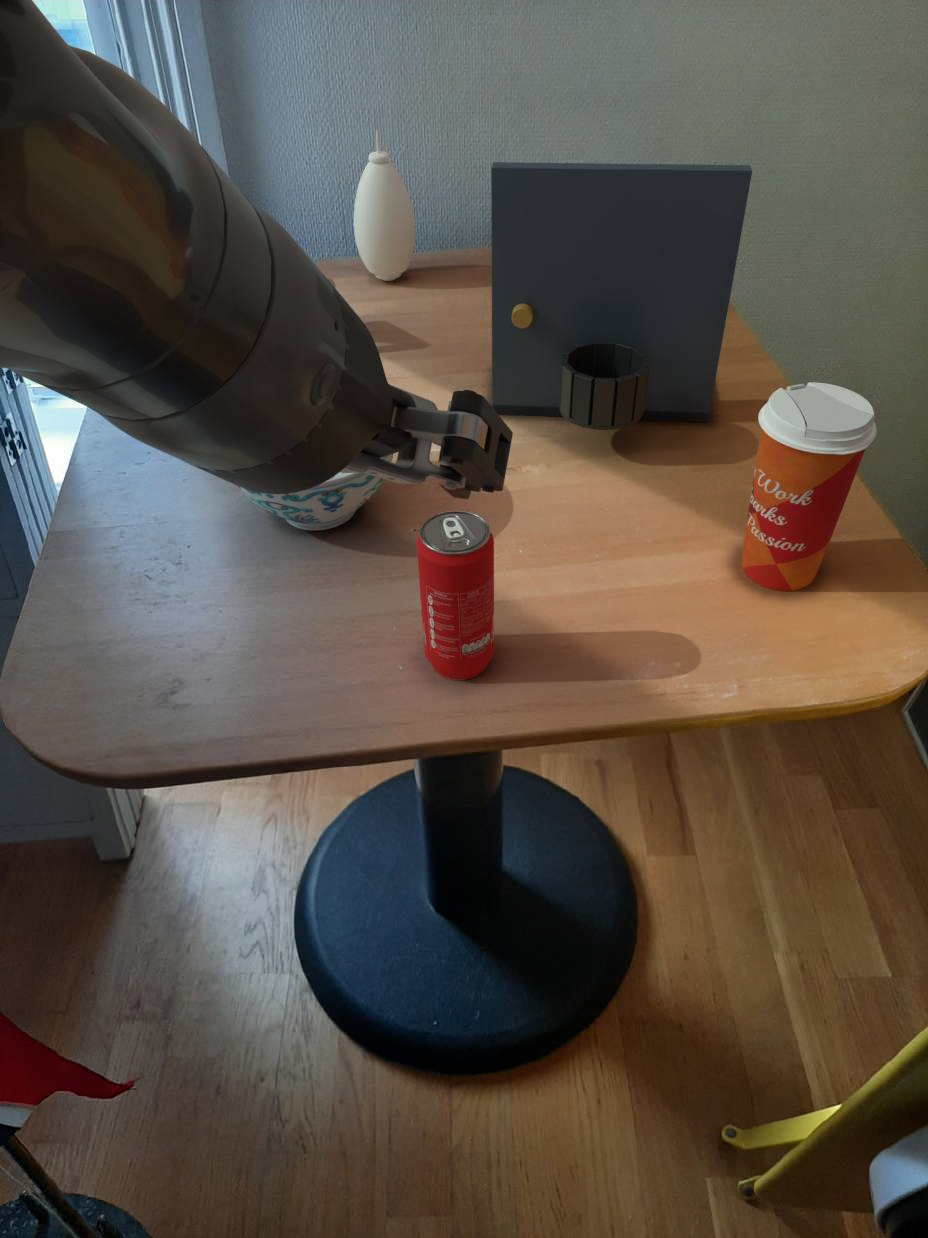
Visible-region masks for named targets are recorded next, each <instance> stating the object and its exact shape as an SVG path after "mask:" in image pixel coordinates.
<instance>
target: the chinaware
mask: <svg viewBox="0 0 928 1238" xmlns="http://www.w3.org/2000/svg"><path fill="white" fill-rule="evenodd" d="M393 457H394V454H391V455H388V456H385V457H382V458H379V459H383V460H386V461H389V462H393ZM384 481H385V479H382V478H379V477H375V476H372V475H369V474H366V473H362V472H359V473H341V472H339V473H338V474H337V475H335V476H334V477H332V478H331V479H329V480H327V481H325V482H324V483H322V484H320V485H317V486H315V487H313V488H310V489H307V490H304V491H300V492H296V493H289V494H264V493H258V492H254V491H250V490H247V489H244V488H242V487H239V486H237V487H238V488H239V490H240V491H241V492H242V493H243V494H244V496H245V497H247V499H249V500H250V501H251V502H252V503H253V504H254V505H256V506H257V507H258V508H260V509H261V510H263V511H265V512H267V513H268V514H270V515H272V516H274V517H276V518H278V519H279V518H280V519H282V520H285V521H286V522H287V523H288V524H289V525H291V526H293V527H295V528H297V529H300V530H306V531H325V530H330V529H334V528H336V527H339V526H341V525H343V524H344V523H346V522H348V521H349V520H350V519H351V518H352V517H353V516H354V515H355V513H356V511H357V510H358V509H359V508H361V507H362V506H364V505H365V504H366V503H367V502H368V501H369V500H370V499H371V498H372V497H373V496H374V495H375V493H377V491H378V490H379V489H380V487H381V485H383V482H384Z"/></svg>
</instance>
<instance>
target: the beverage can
mask: <svg viewBox="0 0 928 1238" xmlns="http://www.w3.org/2000/svg"><path fill="white" fill-rule="evenodd" d="M416 554H417V556H416V557H417V569H418V583H419V584H418V585H419V595H420V596H419V597H420V610H421V623H422V636H423V648H424V649H423V650H424V655H425V658H426V660H427V662H429V663H430V666H431V667H432V669H433V670H434V672H435V673H437V674H438V675H439V676H441V677H443V678H446V679H449V680H453V681H465V680H469V679H470V680H471V679H472V678H476V677H477V676H479V675H481V674H482V673H483V672H484V671H485V670H486V668H487V667H488V664H489V662H490V661H491V660H492V658H493V656H494V652H495V539H494V535H493V533H492V531H491V528H490V525H489V523H488V522H487V521H486V520H485V519H484V518H483V517H482V516H480V515H478V514H476V513H473V512H470V511H465V510H447V511H443V512H439V513H435V514H434V515H432V516H430V517H428V518H427V519H426V520H425V521H424V522H423V523H422V524H421V526H420V528H419V533H418V536H417V539H416Z"/></svg>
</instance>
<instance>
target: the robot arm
mask: <svg viewBox="0 0 928 1238" xmlns="http://www.w3.org/2000/svg"><path fill="white" fill-rule="evenodd" d="M174 114H175V113H173V112H172V111H171V110H170V109H169V108H168V107H167V106H166V104H165V103H163V102H162V101H161V100H160V99H159V98H158V97H157V96H156V95H154V94H153V93H152V92H151V91H150V90H149V89H147V87H145V86H144V85H143V84H142V83H140V82H139V81H138V80H136V78H134V77H132V76H131V75H130V74H128V72H126V71H125V70H123V69H122V68H121V67H118V66H117V65H116V64H113V63H111V62H110V61H108V60H106V59H104V58H103V57H101V56H99V55H97V54H94V53H93V52H91V51H89V50H86V49H82V48H79V47H76V46H72V45H70V44H68V43H67V42H66V40H65V39H64V38H63V37H62V35H61V34H60V33H59V32H58V31H57V29H56V28H55V27H54V26H53V25H52V23H51V22H50V20H49V19H48V18H47V17H46V16H45V15H44V13H43V12H42V11H41V10H40V8H39V7H38V6H37V4H36V3H35V2H34V1H33V0H0V369H6V370H9V371H10V372H12V373H13V374H17V375H19V376H20V377H23V378H25V379H27V380H29V381H31V382H33V383H35V384H38V385H40V386H42V387H44V388H46V389H49V390H50V391H53V392H55V393H57V394H59V395H61V396H63V397H66V398H68V399H70V400H71V401H75V402H76V403H78V404H79V405H83V406H84V407H87V408H88V409H90V410H91V411H94V412H95V413H97V414H98V415H100V416H101V417H102V418H104V420H106V421H107V422H109V423H110V424H111V425H113V426H114V427H115V428H117V429H118V430H120V431H121V432H123V433H124V434H126V435H127V436H130V437H131V438H132V439H134V440H137V441H138V442H140V443H142V444H144V445H146V446H149V447H151V448H153V449H156V450H157V451H160V452H162V453H164V454H166V455H168V456H171V457H173V458H175V459H177V460H180V461H181V462H183V463H186V464H189V465H190V466H192V467H194V468H197V469H199V470H201V471H203V472H206V473H207V474H210V475H212V476H214V477H217V478H219V479H221V480H224V481H225V482H228V483H229V484H232V485H234V486H237V487H238V486H239V487H242V488H244V489H247V490H250V491H254V492H258V493H264V494H289V493H296V492H300V491H304V490H307V489H310V488H313V487H315V486H317V485H320V484H322V483H324V482H325V481H327V480H329V479H331V478H332V477H334V476H335V475H337V474H338V473H339V472H341V473H359V472H362V473H366V474H369V475H372V476H375V477H379V478H382V479H384V481H389V482H391V483H395V484H399V485H413V484H414V485H415V484H418V485H419V484H422V483H424V482H425V481H428V482H430V483H431V482H432V483H434V484H437V485H438V486H439V487H440V488H441V489H443V490H444V491H445V492H446V493H447V494H448V495H450V497H452V498H453V499H463V500H469V499H470V497H471V493H472V492H474V493H475V492H476V493H479V492H481V491H482V492H486V493H491V494H493V493H494V492H502V491H503V489H504V485H505V478H506V474H507V468H508V464H509V463H508V462H509V457H510V451H511V447H512V441H513V435H514V432H513V431H512V430H511V428H510V427H509V426H508V425H507V424H506V422H505V421H504V420H503V418H502V417H501V416H500V414H497V412H496V411H495V410H494V409H493V407H492V404H490V402H489V401H488V399H486V397H485V396H483V395H482V394H479V393H477V392H476V391H475V390H472V389H471V390H470V389H463V390H454V391H453V392H452V395H451V396H452V397H451V400H449V401H448V405H447V410H440V409H438V407H437V405H436V403H434V401H432V400H429V399H428V398H424V397H423V396H419V395H417V394H414V393H412V392H410V391H407V390H404V389H403V388H399V387H397V386H394V385H391V384H390V383H389V382H388V378H387V376H386V373H385V368H384V365H383V362H382V357H381V355H380V353H379V349H378V346H377V343H376V341H375V339H374V338H373V335H372V334H371V332H370V330H369V328H368V327H367V325H366V324H365V323H364V321H363V320H362V318H361V317H360V316H359V315H358V314H357V313H356V311H355V310H354V308H352V306H351V305H350V304H349V303H348V302H347V300H346V299H345V298H344V297H343V296H342V295H341V293H340V292H339V291H338V290H337V288H336V286H335V287H334V286H333V285H332V284H331V283H330V282H329V280H328V279H327V278H326V277H325V276H324V275H325V274H324V273H323V271H322V270H321V269H320V268H319V267H318V265H317V264H316V263H315V262H314V261H313V259H312V258H311V257H310V256H309V254H307V252H306V251H305V250H304V249H303V247H302V246H301V245H300V244H299V243H298V242H297V241H296V240H295V238H294V237H293V236H292V235H291V234H290V233H289V232H288V231H287V230H286V228H285V227H284V226H283V225H282V224H281V223H280V222H279V221H278V220H277V219H275V218H274V217H273V216H271V214H269V213H268V212H267V211H266V210H264V209H263V208H262V207H261V206H259V205H258V204H256V203H255V202H254V201H253V200H251V199H249V198H248V197H247V196H246V195H245V193H243V192H242V191H241V189H240V188H239V187H238V186H237V185H236V184H235V183H234V182H233V180H232V179H231V178H230V177H229V176H228V174H226V172H225V171H224V170H223V168H221V166H220V165H219V164H218V162H216V160H214V158H213V157H212V156H211V155H210V154H209V153H208V152H207V151H206V149H205V147H203V146H202V144H201V143H200V142H199V140H198V139H197V138H196V137H195V135H194V134H193V133H192V132H191V131H190V130H189V129H188V128H187V127H186V126H185V125H184V123H182V121H180V120H179V118H178V117H177V116H176V115H174ZM432 444H434V445H436V446H438V447H440V449H439V455H438V461H437V463H438V464H439V466H438V465H436V464H433V463H432V461H431V459H430V456H431V450H432ZM391 454H393V455H394V454H397V457H396V461H395V462H393V461H391V462H389V461H386V460H383V459H379V458H382V457H385V456H388V455H391ZM239 487H238V488H239Z"/></svg>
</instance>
